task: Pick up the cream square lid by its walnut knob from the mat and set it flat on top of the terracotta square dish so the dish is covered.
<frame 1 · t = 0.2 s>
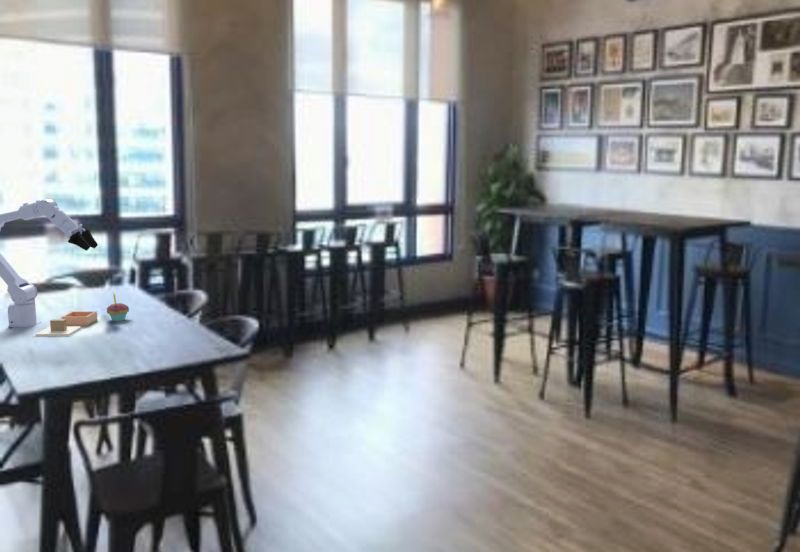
hand: (92, 247, 290), 31 cm above the table, tool tilted 45°, fingers open, 7 cm apart
lid: (59, 332, 283), resting on mat
cupcake: (118, 321, 304), on the table
mat: (59, 333, 283), on the table
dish: (80, 324, 298), on the table
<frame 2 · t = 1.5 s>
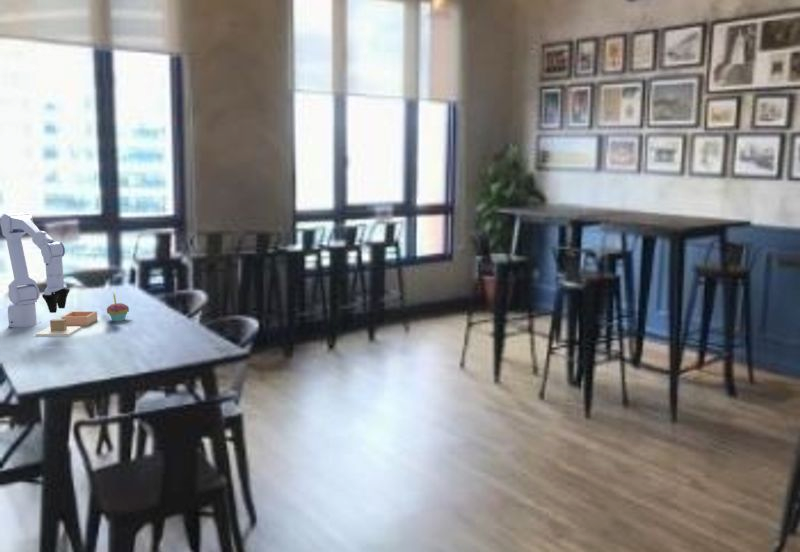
hand: (57, 310, 282), 9 cm above the table, tool pointing down, fingers open, 7 cm apart
nothing on the table moved.
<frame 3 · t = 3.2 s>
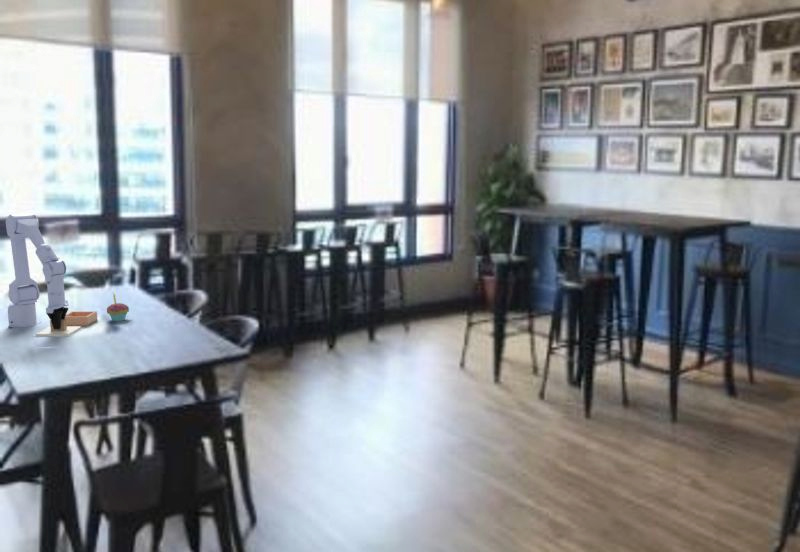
hand: (58, 328, 283), 2 cm above the table, tool pointing down, fingers closed on lid, 2 cm apart
lid: (59, 332, 283), resting on mat, touching gripper
everything else where it was.
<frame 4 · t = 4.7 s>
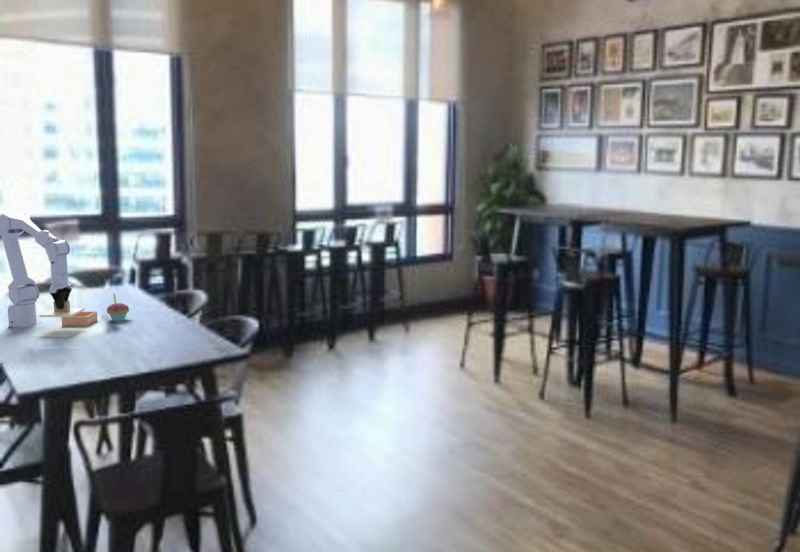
hand: (62, 308, 285), 9 cm above the table, tool pointing down, fingers closed on lid, 2 cm apart
lid: (62, 313, 285), point 7 cm above the table, touching gripper
everything else where it was.
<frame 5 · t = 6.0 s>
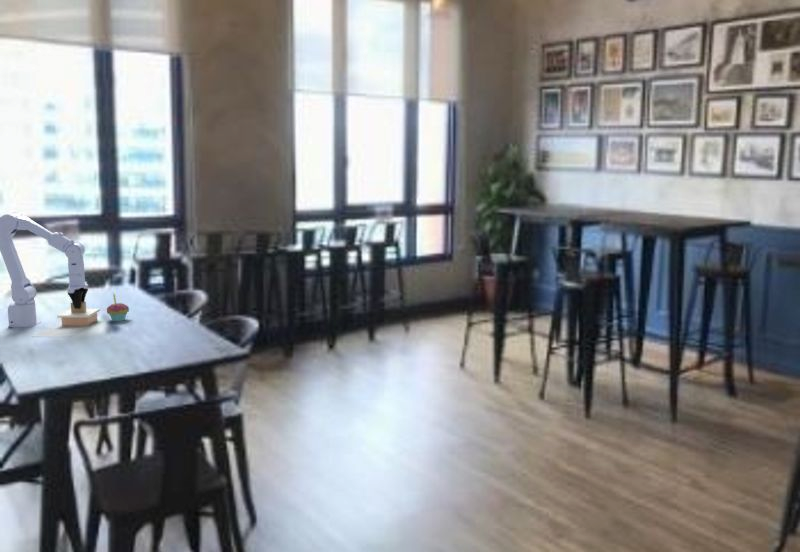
hand: (79, 307, 297), 7 cm above the table, tool pointing down, fingers closed on lid, 2 cm apart
lid: (79, 314, 297), point 4 cm above the table, touching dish, gripper
everything else where it was.
when the fingers open (7 cm above the table, at t = 6.5 s): lid stays where it is, resting on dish.
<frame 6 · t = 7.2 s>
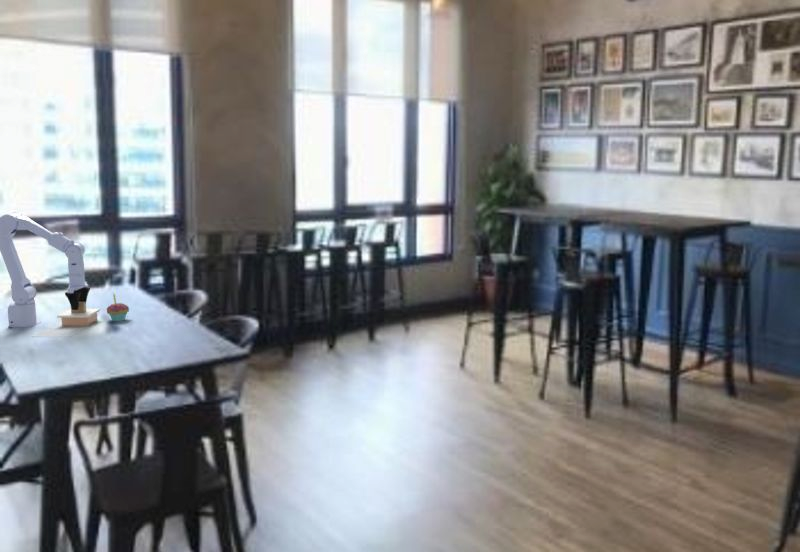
hand: (78, 307, 297), 7 cm above the table, tool pointing down, fingers open, 7 cm apart
lid: (79, 314, 297), point 4 cm above the table, touching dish
everything else where it was.
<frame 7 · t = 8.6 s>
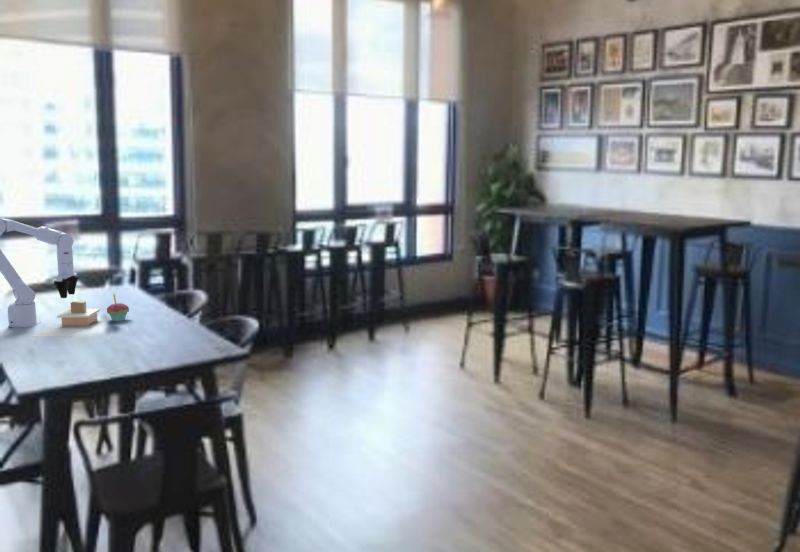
hand: (67, 296, 303), 10 cm above the table, tool pointing down, fingers open, 7 cm apart
nothing on the table moved.
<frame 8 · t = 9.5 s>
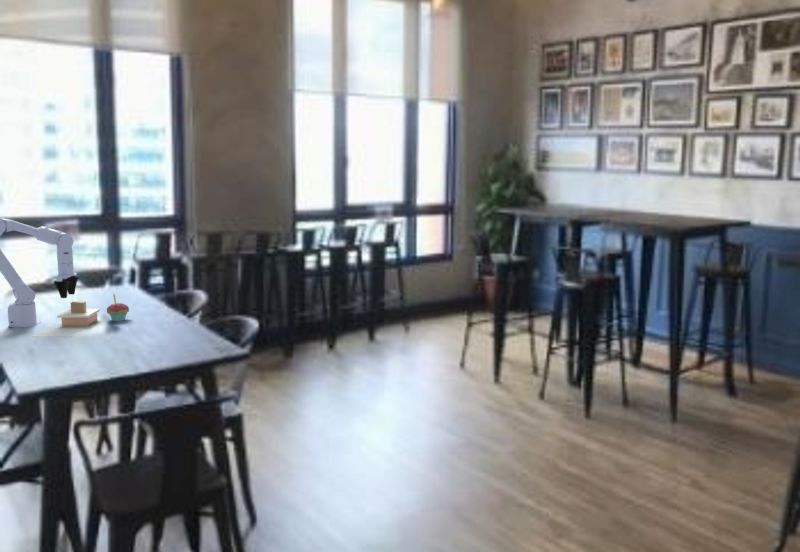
hand: (67, 296, 303), 10 cm above the table, tool pointing down, fingers open, 7 cm apart
nothing on the table moved.
at the end: lid 0.2 cm off-centre on the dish, point 4.0 cm above the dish's base; lid tilted 0°; the gripper is holding nothing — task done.
